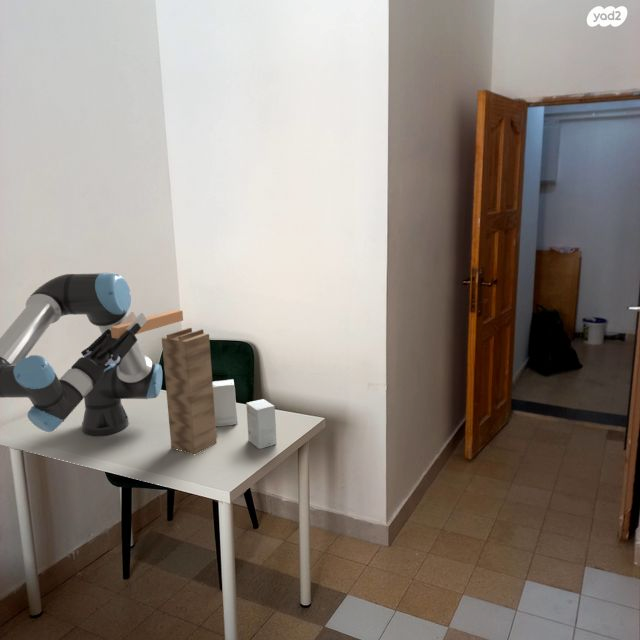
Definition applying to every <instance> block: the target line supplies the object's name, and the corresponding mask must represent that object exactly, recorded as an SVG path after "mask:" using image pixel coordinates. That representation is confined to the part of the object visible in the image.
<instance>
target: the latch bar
mask: <svg viewBox="0 0 640 640" xmlns="http://www.w3.org/2000/svg"><path fill="white" fill-rule="evenodd" d="M145 318H146V319H147V321H146V323H145V324H144V325H143V326H142V327H141V329H140V330H139V331H138V332H137V333H136V334H135V335H138V334H142V333H145V332H148V331H151V330H155V329H159V328H162V327H166V326H169V325H172V324H175V323H179V322H182V321H184V315H183V310H180V309H173V310H169V311H166V312H162V313H158V314H153V315H150V316H145ZM132 322H133V321H131V322H127V323H124V324H120V325H116V326H112V327H111V336H112V338H116V339H119V338H120V337H121V336H122V335H123V334H124V333H125V332H126V331H127V330H126V328H127V327H128V326H129V325H130V324H131V323H132Z"/></svg>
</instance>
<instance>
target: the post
mask: <svg viewBox="0 0 640 640" xmlns="http://www.w3.org/2000/svg"><path fill="white" fill-rule="evenodd" d="M192 329H193V328H192V327H188V328H184V329H181V330H177V331H175V332H172V333H169V334H166V336H164V337H161V345H162V357H163V371H164V379H165V390H166V400H167V412H168V413H167V415H168V422H169V423H168V424H169V434H170V435H169V437H170V447H171V449H172V448H174V449H173V450H176V449H178V450H177V451H179V450H182V451H181V452H183V451H186V452H189V453H188V454H190V453H192V454H191V455H194V454H196V455H198V454H199V452H200V451H201V452H203V451H204V449H205V450H206V448H207V449H209V448H210V447H212V446H213V444H214V445H215V444H217V443H218V442H217V430H216V429H217V427H216V425H215V411H214V397H213V383H212V382H213V371H212V359H211V358H212V357H211V344H210V334H209V333H204V329H202V328H201V329H198V330H194V331H193V330H192ZM211 445H212V446H211ZM209 446H210V447H209ZM202 450H203V451H202ZM186 452H185V453H186ZM201 452H200V453H201ZM197 453H198V454H197Z"/></svg>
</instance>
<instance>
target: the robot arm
mask: <svg viewBox="0 0 640 640" xmlns="http://www.w3.org/2000/svg"><path fill="white" fill-rule="evenodd" d="M130 292H131V290H130V286H129V284H128V282H127V280H126V279H125V278H124V277H123V276H122V275H120V274H118V273H109V272H99V273H67V274H66V273H65V274H62V275H59V276H57V277H53V278H52V279H50V280H48V281H47V282H45V283H43V284H42V285H41V286H39V287H38V288H36V289H35V291H33V292H32V294H31V295H30V296H29V297H28V298H27V300H26V302H25V308H24V309H23V310H22V311H21V313H20V314H19V315H18V316H17V317H16V319H15V320H14V321H13V322H12V323H11V324H10V326H9V327H8V329H6V331H4V333H3V334H2V336H0V398H7V399H8V398H11V399H12V398H28V399H29V401H30V402H31V404H32V406H31V407H30V409H29V410H28V411H27V418H28V420H29V421H30V423H31V424H33V425H34V426H35V427H36V428H37V429H39V430H41V431H44V432H47V433H51V432H54V431H55V430H56V429H57V428H59V426H61V425H62V423H64V422H65V420H66V419H67V418H68V417H69V416H70V414H72V412H73V411H74V410H75V409H76V408H77V406H79V405H80V403H81V402H82V401H83V399H84V408H85V409H84V413H83V420H82V422H81V427H82V428H81V429H82V432H83V433H84V434H85V435H89V436H107V435H112V434H115V433H118V432H120V431H123V430H125V429H126V428H127V427H128V426H129V415H127V412H126V411H125V408H124V406H123V405H122V399H123V400H148V399H149V400H150V399H156V398H157V397H159V395H160V393H161V390H162V385H163V369H162V365H161V364H159V363H153V362H152V360H151V359H150V357H149V356H147V355H145V354H143V351H142V348H141V347H140V343H139V342H138V338H137V336H136V335H137V334H136V333H137V332H138V331H139V330H140V329H141V327H142V326H143V325H144V324H145V323H146V321H147V319H146V316H145V314H144V313H140V314H139V315H137V316H136V314H135V313H134V311H130V313H129V314H128V311H129V309H130V307H131V304H132V303H131V302H132V295H131V293H130ZM127 314H128V315H127ZM69 315H76V316H77V315H86V317H87V319H88V321H89V322H90V323H91V324H92V325H94V326H96V327H98V329H99V330H100V332H101V335H100V336H98V338H96V339H95V340H94V341H93V342H92V343H91V344H90V345H89V346H88V347H86V348H85V349H84V350H82V351H81V352H80V354H81V355H82V357H79V358H78V359H77V361H76V362H75V363H73V365H72V366H71V367H70V368H68V370H66V371H65V372H64V374H63V375H62V376H61V377H60V378H59V377H58V375H57V374H56V372H55V369H54V367H53V366H51V364H50V363H49V362H48V360H47V359H46V358H45V357H43V356H41V355H38V354H31V355H29V353H30V352H31V351H32V349H33V348H34V347H35V345H36V344H37V342H38V341H39V340H40V338H41V337H42V336H43V335H44V333H45V332H46V330H47V329H48V328H49V327H50V325H52V324H54V323H56V322H59V320H60V318H62V317H64V316H69ZM131 321H133V322H132V323H131V324H130V325H129V326H128V327H127V328H126V330H127V331H126V332H125V333H124V334H123V335H122V336H121V337H120V338H119V339H116V338H112V336H111V327H112V326H116V325H120V324H124V323H127V322H131ZM28 355H29V356H28Z"/></svg>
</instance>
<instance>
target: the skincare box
mask: <svg viewBox="0 0 640 640" xmlns="http://www.w3.org/2000/svg"><path fill="white" fill-rule="evenodd" d="M234 381H235V380H234V379H233V378H232V379H226V380H225V379H224V380H215V381H212V383H213V397H214V411H215V425H216V426H217V427H223V426H232V425H233V426H234V424H235V425H238V423H239V422H238V410H237V409H238V408H237V401H236V388H235V382H234Z"/></svg>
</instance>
